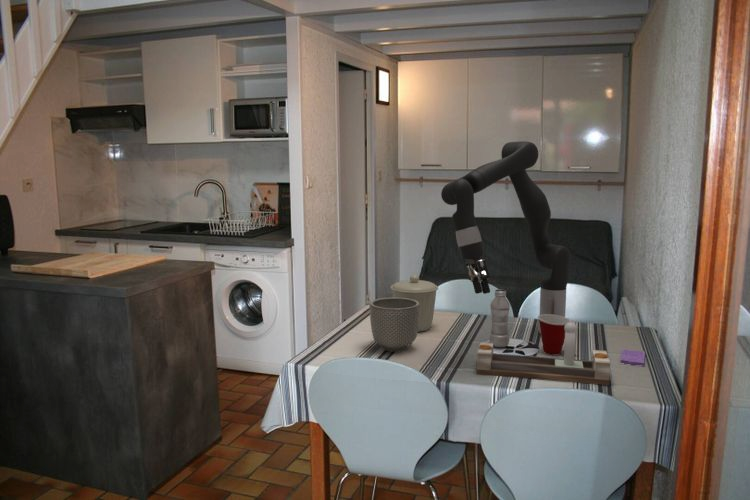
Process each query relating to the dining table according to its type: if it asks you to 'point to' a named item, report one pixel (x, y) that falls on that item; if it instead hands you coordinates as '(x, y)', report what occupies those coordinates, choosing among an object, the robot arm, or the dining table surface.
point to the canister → (418, 298)
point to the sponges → (633, 357)
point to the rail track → (542, 366)
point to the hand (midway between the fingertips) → (482, 293)
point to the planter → (394, 322)
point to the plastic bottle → (499, 319)
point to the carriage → (569, 348)
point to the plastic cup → (552, 332)
